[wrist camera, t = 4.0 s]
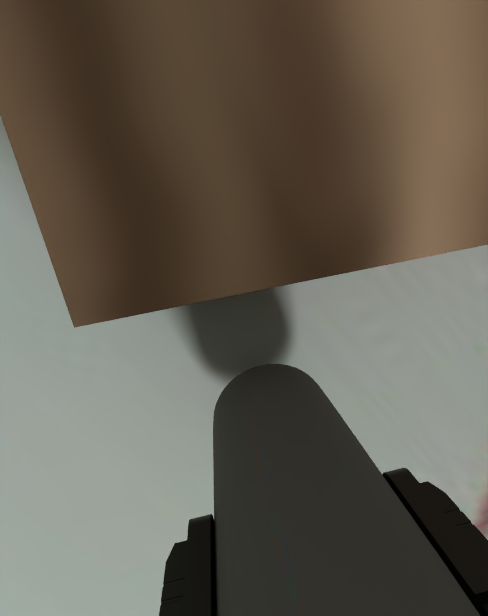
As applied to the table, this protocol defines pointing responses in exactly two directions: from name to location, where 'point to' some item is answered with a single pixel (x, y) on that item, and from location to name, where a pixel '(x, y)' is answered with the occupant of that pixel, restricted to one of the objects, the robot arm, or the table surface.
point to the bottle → (312, 513)
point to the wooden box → (243, 140)
